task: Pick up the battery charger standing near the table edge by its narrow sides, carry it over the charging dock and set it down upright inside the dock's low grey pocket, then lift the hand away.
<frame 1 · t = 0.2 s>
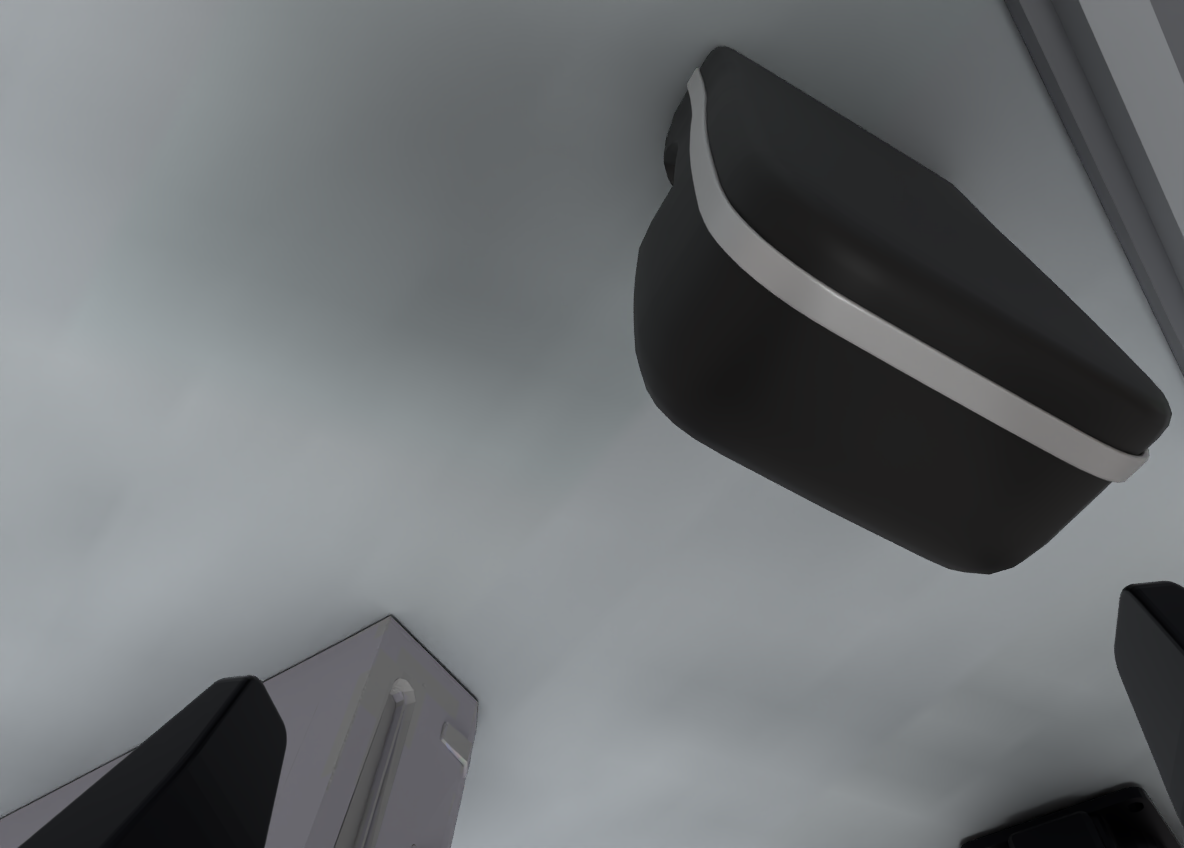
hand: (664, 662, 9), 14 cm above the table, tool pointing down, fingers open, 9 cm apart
battery charger: (790, 185, 21), on the table
game console: (177, 796, 34), on the table
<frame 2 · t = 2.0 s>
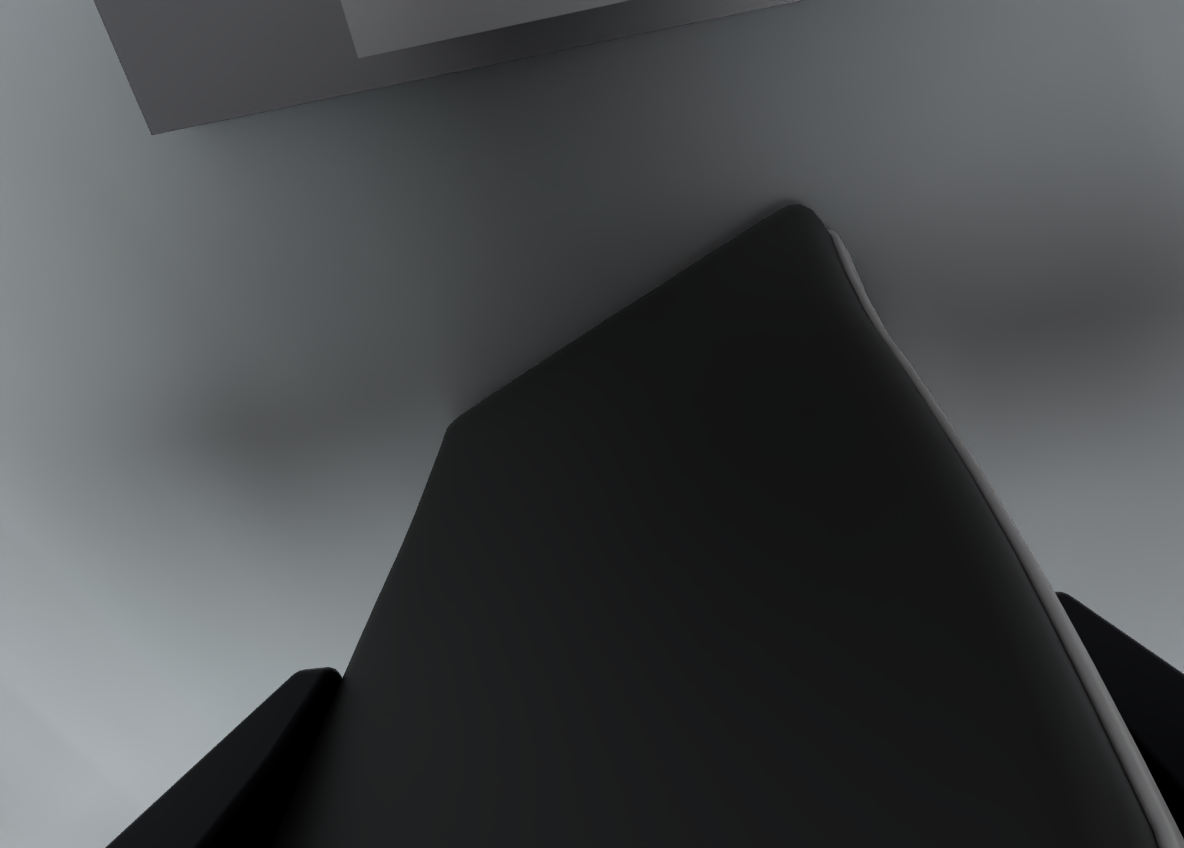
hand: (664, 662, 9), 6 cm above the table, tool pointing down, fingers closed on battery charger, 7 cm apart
battery charger: (676, 396, 14), on the table, touching gripper
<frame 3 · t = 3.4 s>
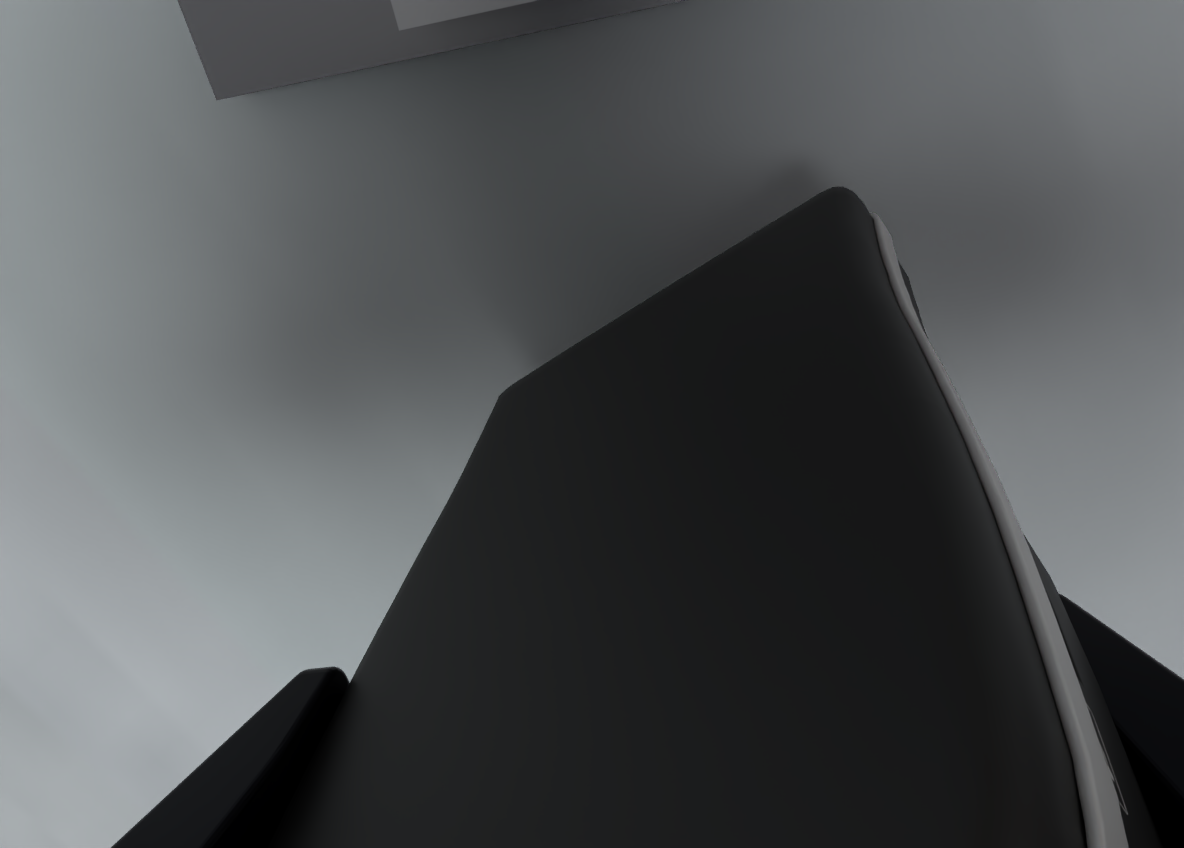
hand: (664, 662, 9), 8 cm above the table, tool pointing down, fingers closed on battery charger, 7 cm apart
battery charger: (720, 373, 15), point 2 cm above the table, touching gripper
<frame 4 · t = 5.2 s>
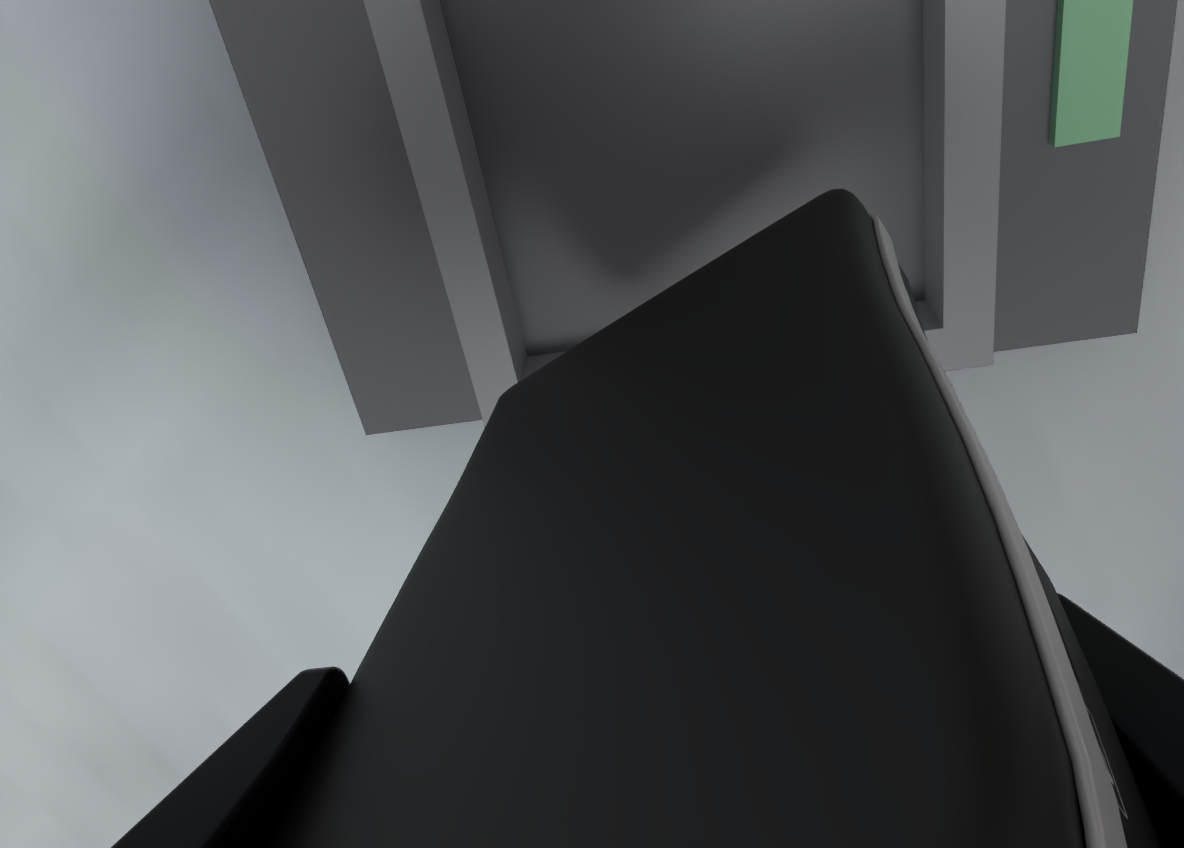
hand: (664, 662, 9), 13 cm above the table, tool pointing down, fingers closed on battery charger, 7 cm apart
battery charger: (720, 374, 15), point 7 cm above the table, touching gripper
charging dock: (682, 43, 18), on the table
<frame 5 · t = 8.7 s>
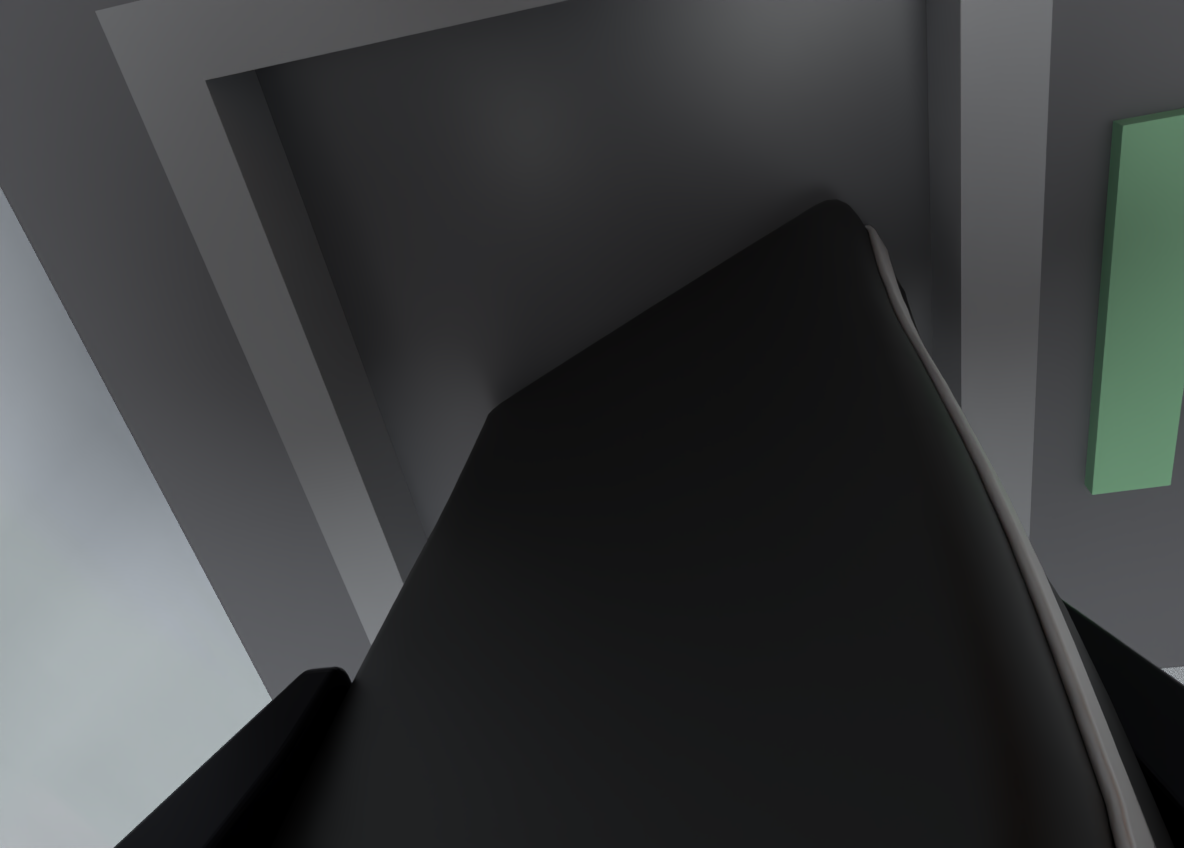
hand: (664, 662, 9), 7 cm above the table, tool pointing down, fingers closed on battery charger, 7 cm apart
battery charger: (713, 389, 14), point 1 cm above the table, touching charging dock, gripper
charging dock: (647, 363, 16), on the table
when the fingers open (7 cm above the table, at t = 8.9 s): battery charger stays where it is, resting on charging dock.
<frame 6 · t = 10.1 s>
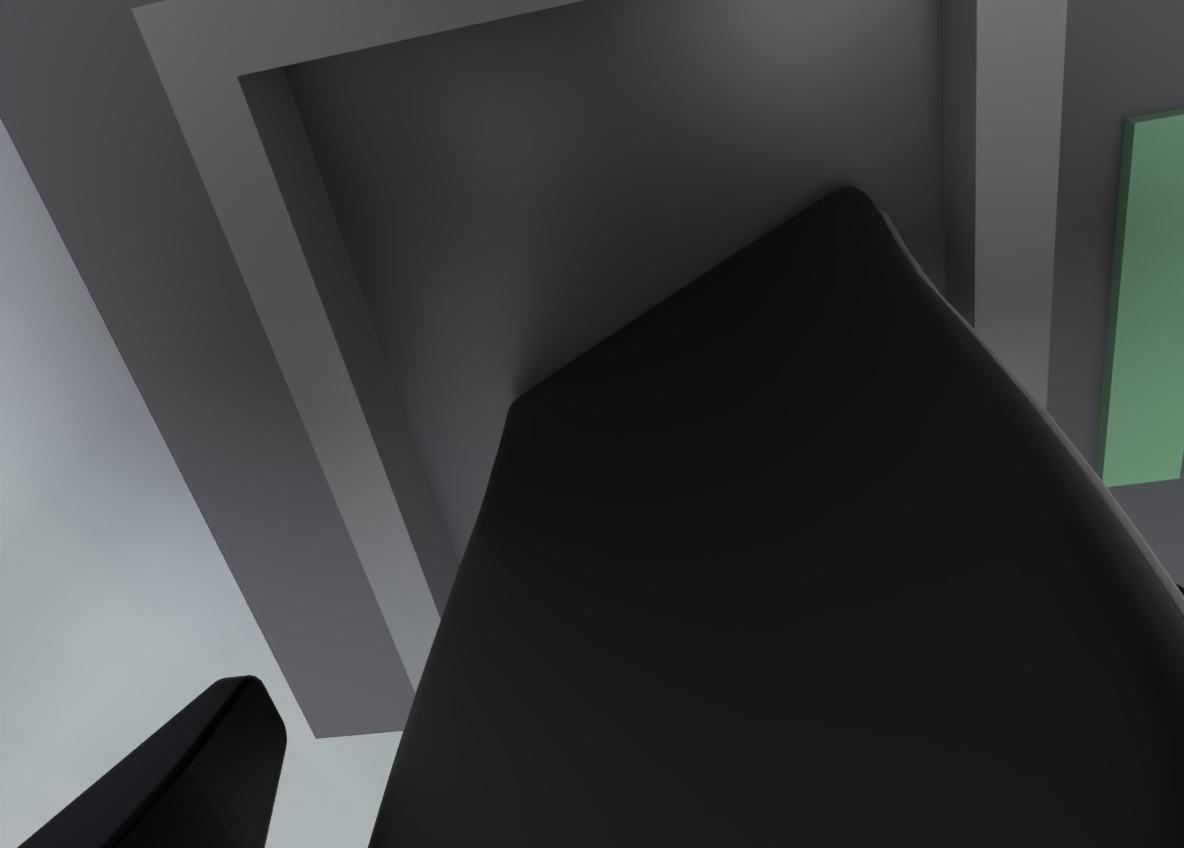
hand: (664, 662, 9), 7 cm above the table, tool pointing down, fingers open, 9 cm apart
battery charger: (728, 373, 15), point 1 cm above the table, touching charging dock, gripper
charging dock: (663, 356, 16), on the table
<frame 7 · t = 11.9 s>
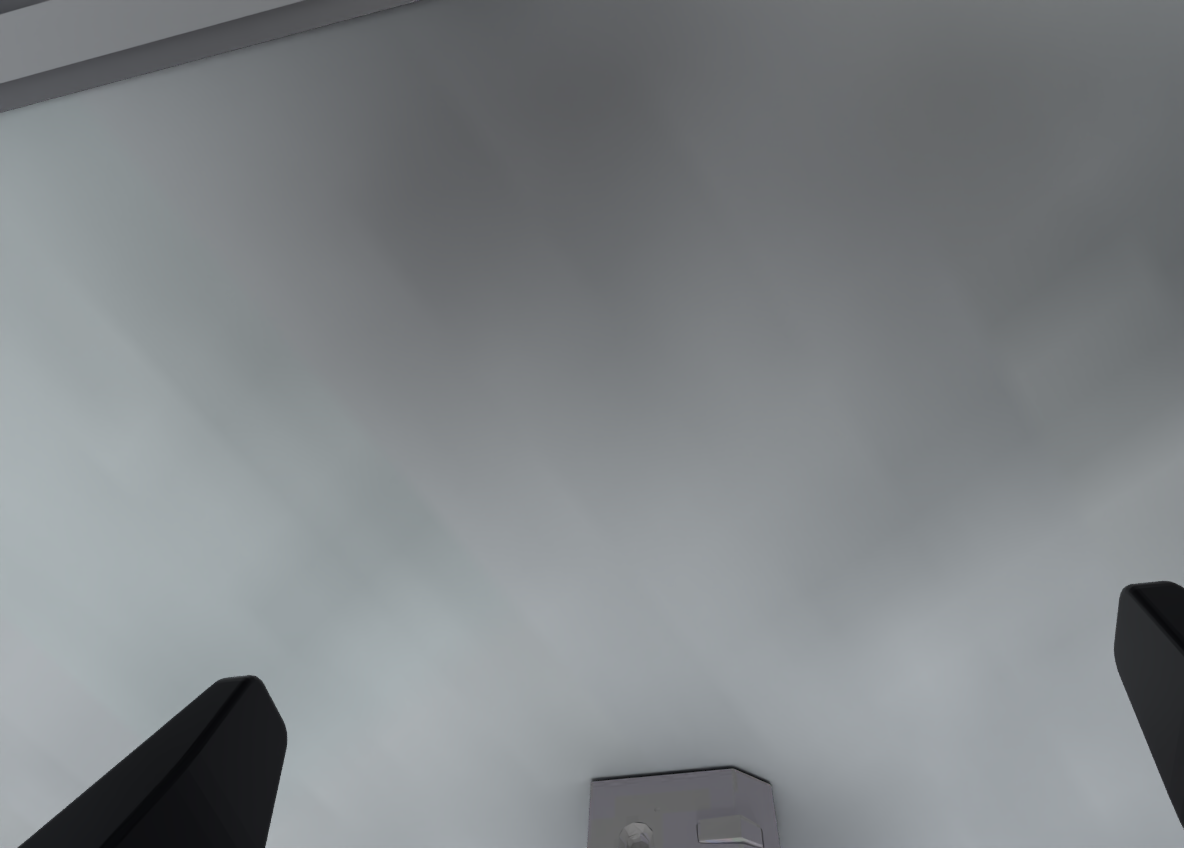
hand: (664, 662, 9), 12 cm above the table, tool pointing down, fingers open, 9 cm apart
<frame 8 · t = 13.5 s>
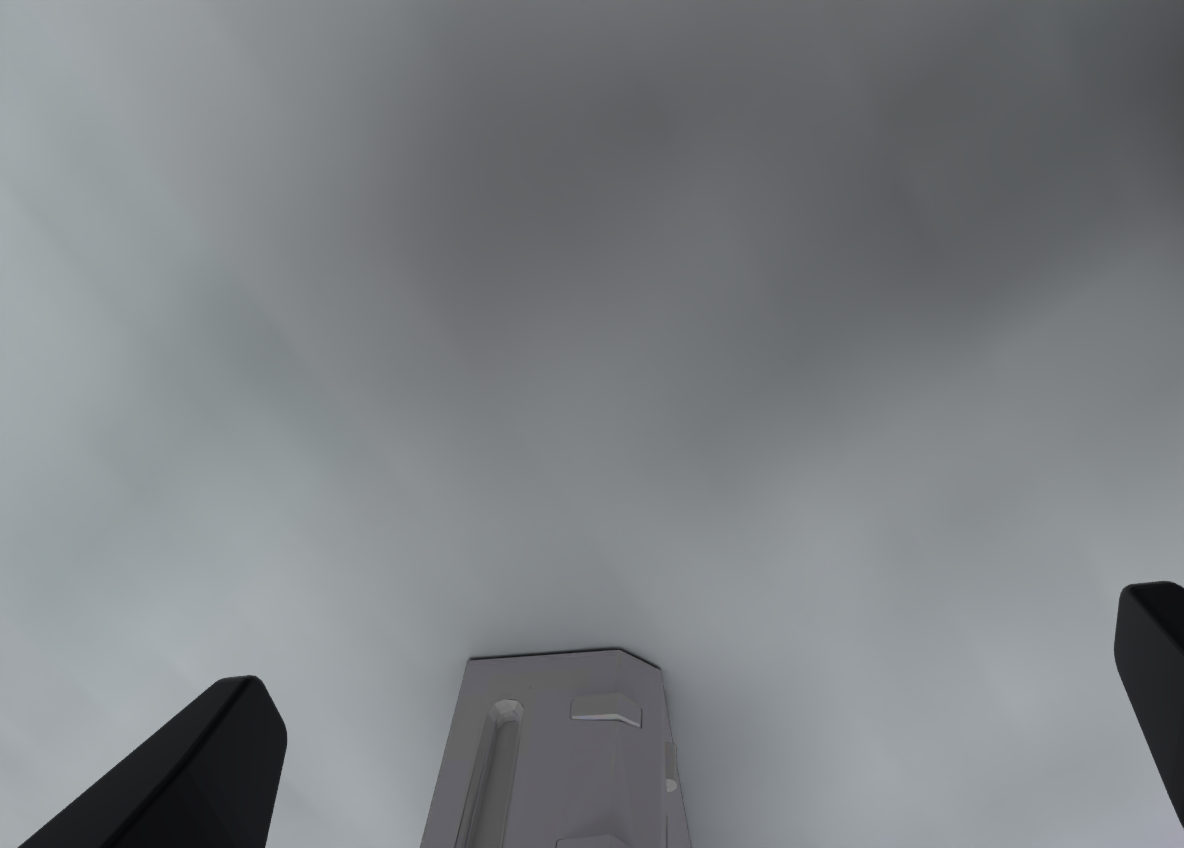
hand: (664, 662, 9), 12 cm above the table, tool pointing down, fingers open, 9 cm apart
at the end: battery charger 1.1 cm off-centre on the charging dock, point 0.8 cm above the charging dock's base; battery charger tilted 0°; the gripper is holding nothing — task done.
